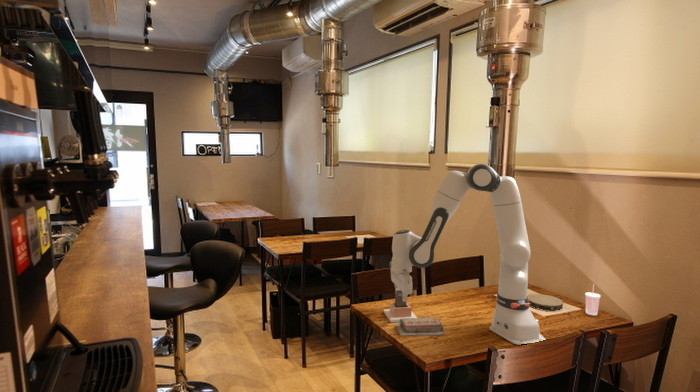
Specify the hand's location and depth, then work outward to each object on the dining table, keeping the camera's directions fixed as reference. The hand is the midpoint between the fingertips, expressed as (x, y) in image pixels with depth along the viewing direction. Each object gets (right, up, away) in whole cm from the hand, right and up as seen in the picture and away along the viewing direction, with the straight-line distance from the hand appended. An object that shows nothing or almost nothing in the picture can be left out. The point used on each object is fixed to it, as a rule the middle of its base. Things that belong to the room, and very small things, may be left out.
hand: (400, 297), depth 181 cm
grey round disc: (+72, -9, +18) cm, 75 cm away
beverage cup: (+89, -10, +8) cm, 90 cm away
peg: (0, -7, +1) cm, 7 cm away
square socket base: (0, -9, +1) cm, 9 cm away
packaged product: (+6, -11, -13) cm, 18 cm away
